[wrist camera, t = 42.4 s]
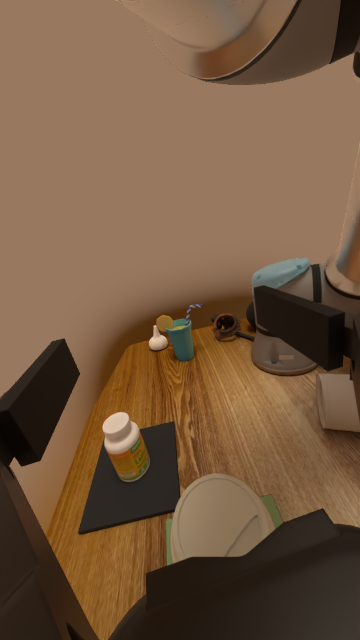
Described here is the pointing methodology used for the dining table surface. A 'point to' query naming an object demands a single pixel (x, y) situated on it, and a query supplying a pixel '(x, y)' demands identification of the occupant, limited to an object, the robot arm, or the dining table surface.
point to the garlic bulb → (157, 341)
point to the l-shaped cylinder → (337, 402)
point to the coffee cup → (218, 519)
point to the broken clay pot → (225, 325)
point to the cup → (179, 334)
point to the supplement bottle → (125, 447)
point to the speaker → (251, 314)
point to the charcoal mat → (135, 485)
